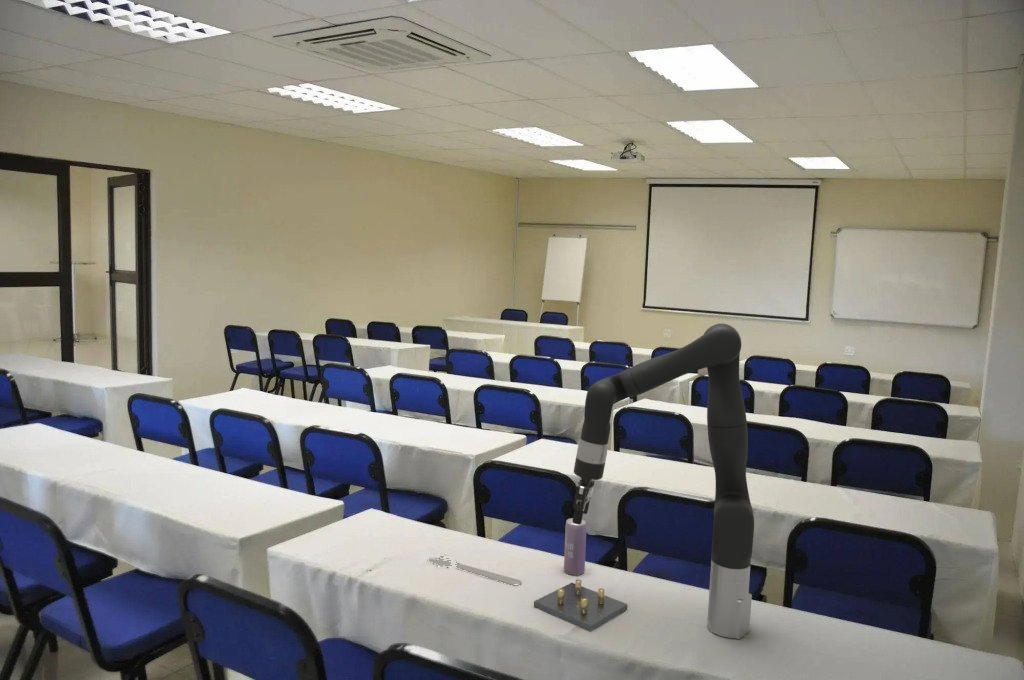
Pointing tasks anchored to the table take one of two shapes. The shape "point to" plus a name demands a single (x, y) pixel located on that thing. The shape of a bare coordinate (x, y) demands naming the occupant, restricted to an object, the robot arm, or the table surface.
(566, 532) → the beverage can
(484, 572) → the wrench
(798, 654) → the table surface
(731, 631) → the robot arm
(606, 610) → the chassis plate
